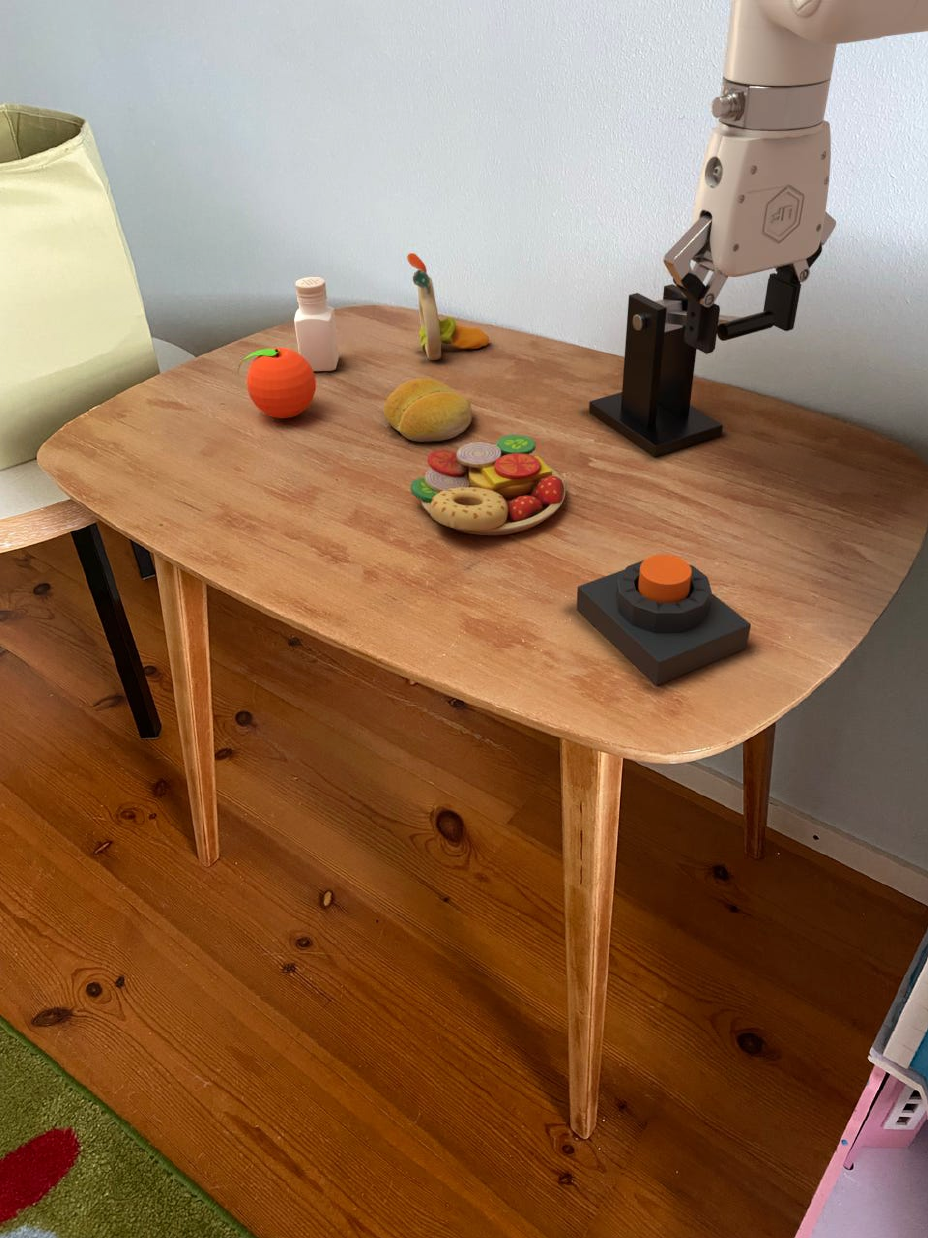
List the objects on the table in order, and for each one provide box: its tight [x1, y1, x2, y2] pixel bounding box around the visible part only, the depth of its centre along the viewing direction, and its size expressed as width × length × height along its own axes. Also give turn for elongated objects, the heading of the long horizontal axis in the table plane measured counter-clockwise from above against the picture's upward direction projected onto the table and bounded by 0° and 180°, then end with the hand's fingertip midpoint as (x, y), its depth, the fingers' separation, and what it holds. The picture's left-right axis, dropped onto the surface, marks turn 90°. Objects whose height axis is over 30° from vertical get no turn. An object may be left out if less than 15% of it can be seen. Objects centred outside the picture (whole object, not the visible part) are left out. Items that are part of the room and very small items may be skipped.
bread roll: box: [383, 377, 473, 443], centre depth 98 cm, size 8×9×4 cm
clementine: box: [237, 347, 317, 419], centre depth 100 cm, size 8×7×7 cm
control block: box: [576, 559, 752, 686], centre depth 71 cm, size 10×8×4 cm
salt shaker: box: [293, 276, 340, 372], centre depth 108 cm, size 4×4×10 cm
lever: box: [654, 298, 775, 342], centre depth 86 cm, size 13×5×2 cm, turn 28°
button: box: [638, 554, 692, 603], centre depth 70 cm, size 4×4×2 cm
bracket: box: [588, 283, 724, 458], centre depth 94 cm, size 11×8×13 cm
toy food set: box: [409, 434, 566, 536], centre depth 86 cm, size 13×13×3 cm
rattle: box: [406, 252, 490, 361], centre depth 109 cm, size 8×8×12 cm
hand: (738, 335), depth 83 cm, fingers open, 7 cm apart
